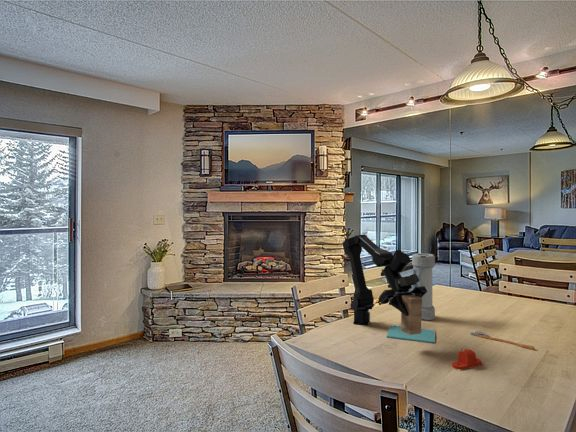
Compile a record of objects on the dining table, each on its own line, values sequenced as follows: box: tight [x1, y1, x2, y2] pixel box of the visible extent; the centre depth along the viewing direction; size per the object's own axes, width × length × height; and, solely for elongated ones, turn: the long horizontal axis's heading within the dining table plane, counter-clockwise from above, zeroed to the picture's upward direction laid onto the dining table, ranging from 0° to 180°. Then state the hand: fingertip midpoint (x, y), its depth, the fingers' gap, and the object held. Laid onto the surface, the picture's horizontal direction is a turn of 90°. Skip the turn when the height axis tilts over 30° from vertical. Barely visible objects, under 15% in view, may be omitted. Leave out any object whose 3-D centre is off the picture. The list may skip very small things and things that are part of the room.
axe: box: [470, 330, 536, 351], centre depth 140 cm, size 22×6×2 cm, turn 42°
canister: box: [411, 252, 436, 322], centre depth 169 cm, size 10×10×30 cm
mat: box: [386, 325, 436, 344], centre depth 147 cm, size 18×14×1 cm
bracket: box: [451, 349, 483, 371], centre depth 118 cm, size 12×4×5 cm, turn 113°
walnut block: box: [400, 295, 422, 335], centre depth 131 cm, size 5×5×13 cm
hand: (413, 314), depth 130 cm, fingers closed on walnut block, 5 cm apart
